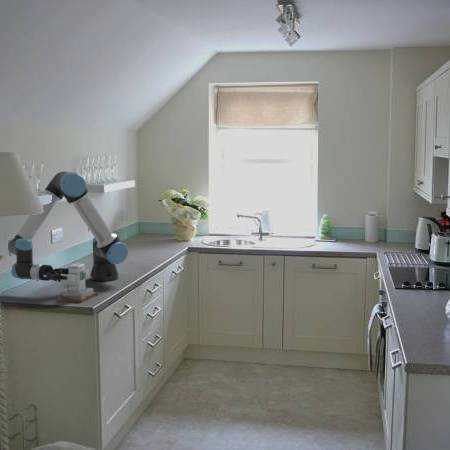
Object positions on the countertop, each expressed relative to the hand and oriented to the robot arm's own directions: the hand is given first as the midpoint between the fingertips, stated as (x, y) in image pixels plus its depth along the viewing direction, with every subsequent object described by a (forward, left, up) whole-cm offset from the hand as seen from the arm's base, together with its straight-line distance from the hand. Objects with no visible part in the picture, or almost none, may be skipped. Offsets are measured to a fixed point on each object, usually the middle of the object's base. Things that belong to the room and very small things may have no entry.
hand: (81, 275), depth 298 cm
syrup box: (0, -2, -10) cm, 10 cm away
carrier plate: (0, -2, -11) cm, 11 cm away
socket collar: (0, -2, -10) cm, 10 cm away
